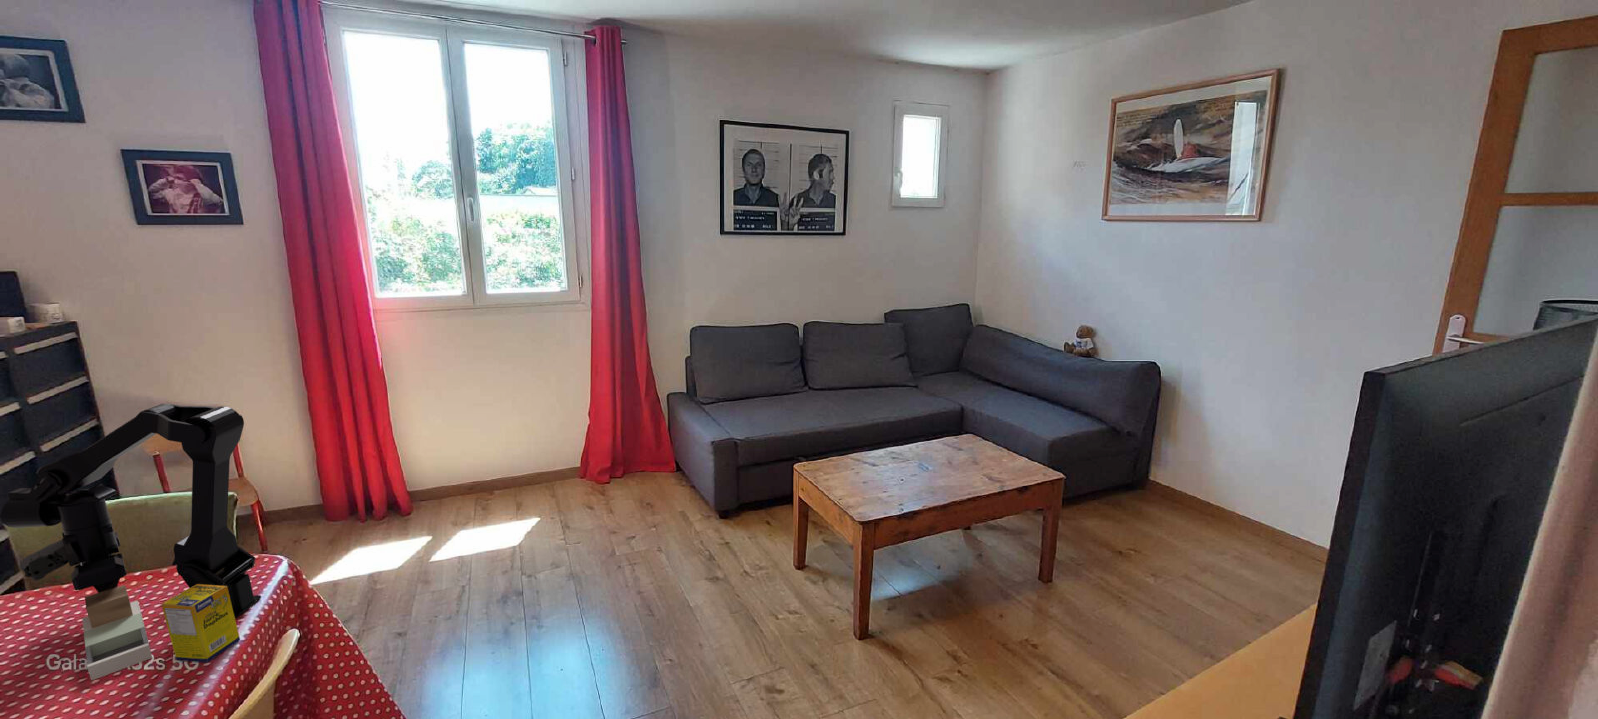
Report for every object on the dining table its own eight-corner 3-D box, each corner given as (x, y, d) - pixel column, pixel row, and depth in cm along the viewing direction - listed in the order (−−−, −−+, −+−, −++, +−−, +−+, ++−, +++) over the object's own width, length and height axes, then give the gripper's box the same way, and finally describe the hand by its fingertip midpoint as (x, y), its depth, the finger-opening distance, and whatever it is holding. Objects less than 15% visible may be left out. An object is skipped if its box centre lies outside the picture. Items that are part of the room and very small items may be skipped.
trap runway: (84, 622, 116) (81, 610, 116) (139, 604, 122) (135, 592, 121) (91, 680, 102) (87, 667, 102) (152, 657, 107) (148, 644, 107)
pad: (87, 644, 111) (83, 631, 110) (144, 624, 116) (140, 612, 115) (89, 659, 107) (85, 646, 106) (147, 638, 112) (144, 626, 111)
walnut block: (90, 616, 114) (84, 596, 113) (130, 603, 118) (125, 584, 117) (92, 628, 111) (86, 608, 110) (132, 614, 114) (127, 595, 114)
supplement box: (241, 640, 112) (228, 584, 109) (207, 663, 106) (192, 606, 103) (210, 637, 112) (197, 582, 110) (175, 661, 107) (160, 603, 104)
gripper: (18, 522, 114) (42, 599, 117) (14, 559, 102) (42, 644, 105) (108, 501, 122) (128, 574, 126) (115, 533, 110) (137, 612, 114)
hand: (109, 599), depth 117 cm, fingers closed
